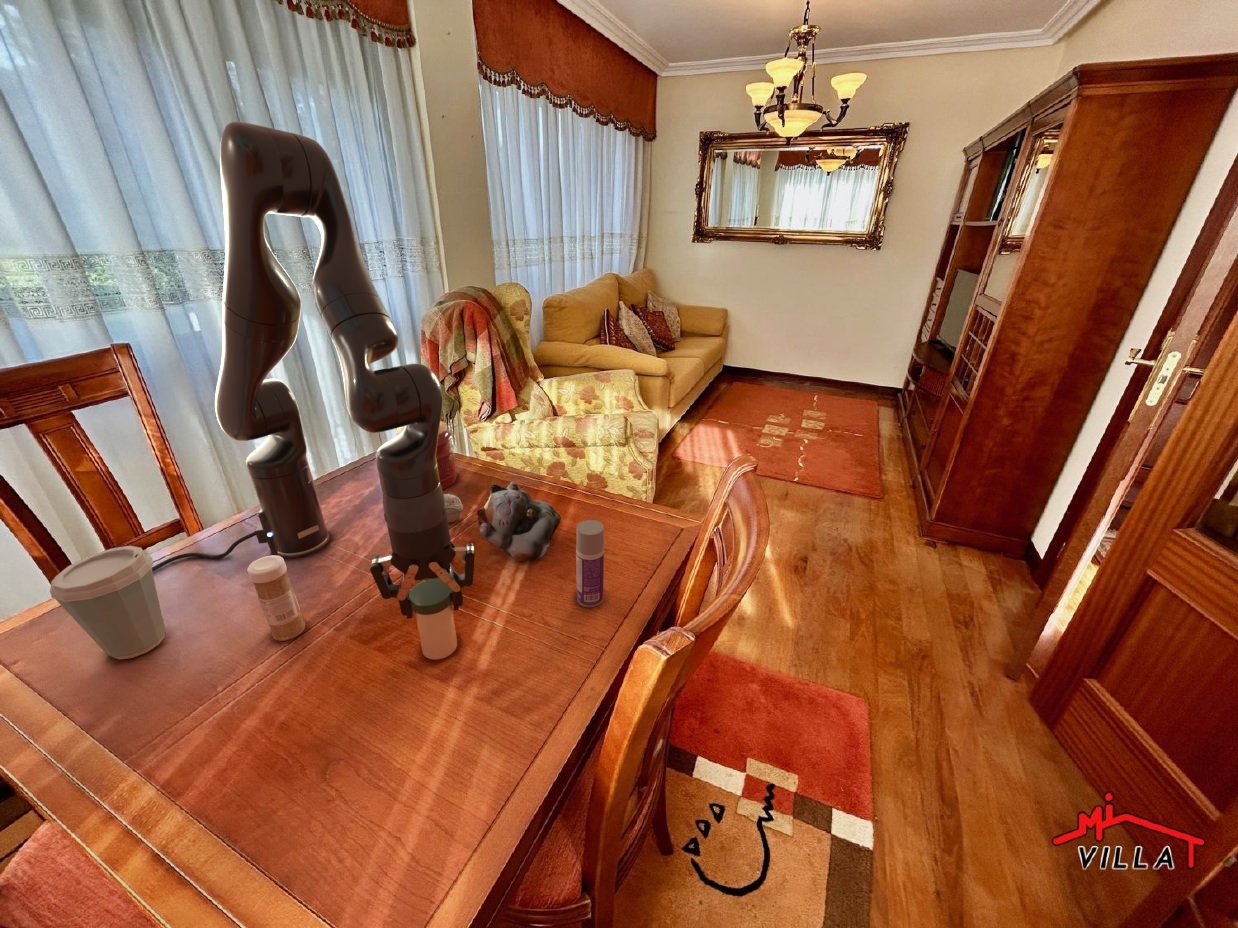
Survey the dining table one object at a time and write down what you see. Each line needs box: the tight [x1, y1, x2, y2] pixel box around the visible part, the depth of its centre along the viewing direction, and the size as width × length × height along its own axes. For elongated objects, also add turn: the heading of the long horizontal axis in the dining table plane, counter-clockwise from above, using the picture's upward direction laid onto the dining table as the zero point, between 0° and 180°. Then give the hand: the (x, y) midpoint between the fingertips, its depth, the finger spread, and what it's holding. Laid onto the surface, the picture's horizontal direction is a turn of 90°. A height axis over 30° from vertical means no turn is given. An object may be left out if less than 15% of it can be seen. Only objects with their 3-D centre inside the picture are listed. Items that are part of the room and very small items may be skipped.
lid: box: [409, 578, 453, 615], centre depth 73 cm, size 6×6×2 cm
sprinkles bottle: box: [247, 554, 306, 642], centre depth 76 cm, size 5×5×14 cm
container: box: [575, 519, 605, 608], centre depth 85 cm, size 5×5×15 cm
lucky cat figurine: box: [475, 481, 562, 562], centre depth 100 cm, size 15×12×14 cm
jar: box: [414, 602, 458, 661], centre depth 75 cm, size 5×5×10 cm
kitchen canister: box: [395, 420, 458, 490], centre depth 120 cm, size 13×13×18 cm
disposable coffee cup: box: [49, 545, 166, 660], centre depth 73 cm, size 11×11×15 cm
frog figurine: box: [443, 493, 464, 524], centre depth 107 cm, size 6×7×7 cm
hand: (433, 610), depth 74 cm, fingers closed on lid, 6 cm apart
